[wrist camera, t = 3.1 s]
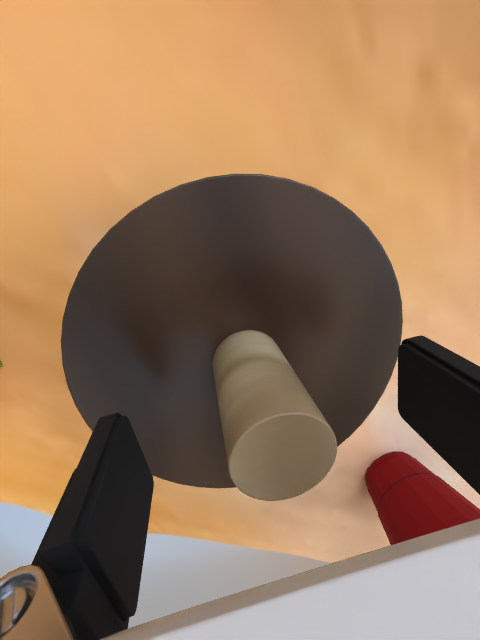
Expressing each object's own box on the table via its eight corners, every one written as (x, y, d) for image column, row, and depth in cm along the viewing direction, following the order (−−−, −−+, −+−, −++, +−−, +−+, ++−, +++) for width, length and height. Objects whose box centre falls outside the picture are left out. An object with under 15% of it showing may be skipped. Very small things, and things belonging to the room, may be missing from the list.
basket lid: (136, 500, 16) (104, 680, 10) (5, 220, 11) (-247, 237, 5) (387, 428, 17) (497, 549, 11) (385, 143, 12) (600, 73, 6)
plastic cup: (425, 413, 30) (565, 532, 19) (441, 480, 34) (563, 610, 23) (328, 459, 30) (411, 606, 19) (356, 520, 34) (437, 670, 23)
